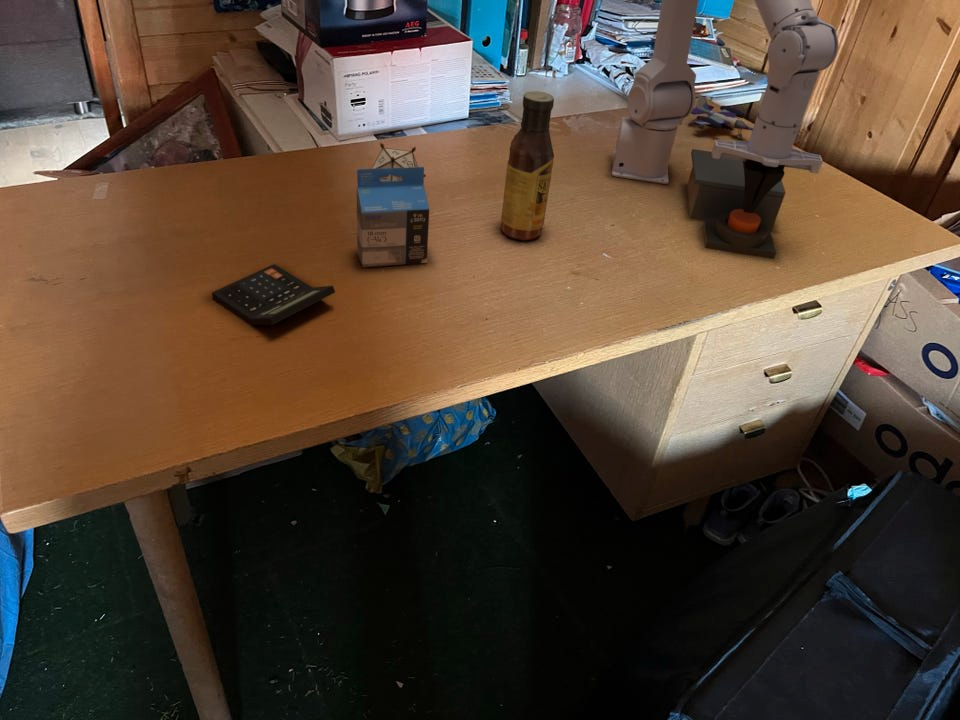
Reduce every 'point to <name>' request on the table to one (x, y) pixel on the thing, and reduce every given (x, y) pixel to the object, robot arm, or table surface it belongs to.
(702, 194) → the cooker
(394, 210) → the tape cartridge
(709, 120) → the toy airplane
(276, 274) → the calculator
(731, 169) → the lid
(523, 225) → the sauce bottle
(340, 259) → the table surface
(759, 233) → the switch block
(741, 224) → the button
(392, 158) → the game die
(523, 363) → the table surface
